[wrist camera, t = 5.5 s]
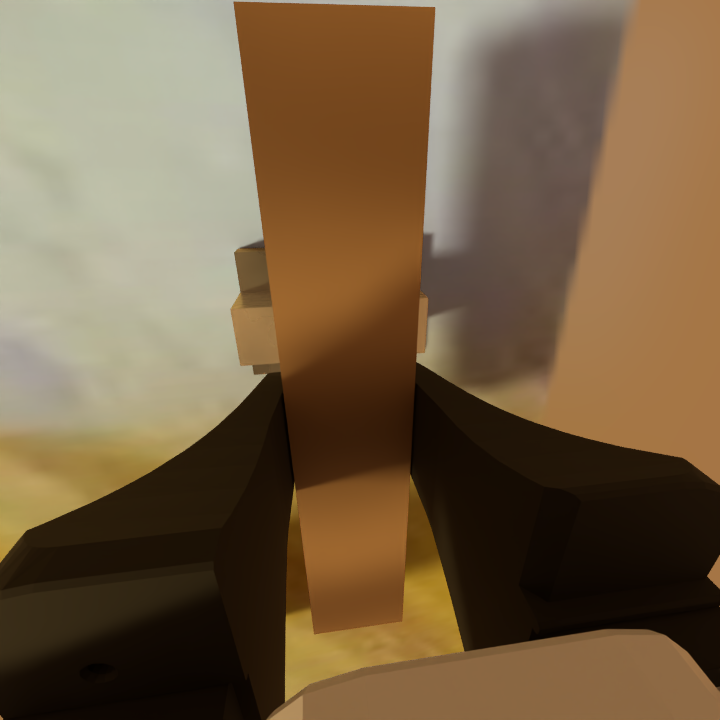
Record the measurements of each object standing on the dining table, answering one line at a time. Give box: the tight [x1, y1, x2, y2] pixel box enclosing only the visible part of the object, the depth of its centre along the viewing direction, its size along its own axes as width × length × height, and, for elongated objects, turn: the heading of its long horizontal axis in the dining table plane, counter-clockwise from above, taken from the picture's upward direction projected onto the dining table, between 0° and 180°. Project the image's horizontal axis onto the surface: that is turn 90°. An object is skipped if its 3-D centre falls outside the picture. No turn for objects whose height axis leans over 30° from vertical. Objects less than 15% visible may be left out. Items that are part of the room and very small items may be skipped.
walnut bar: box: [234, 2, 435, 634], centre depth 11 cm, size 16×3×4 cm, turn 1°
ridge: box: [231, 248, 428, 375], centre depth 17 cm, size 6×8×4 cm
